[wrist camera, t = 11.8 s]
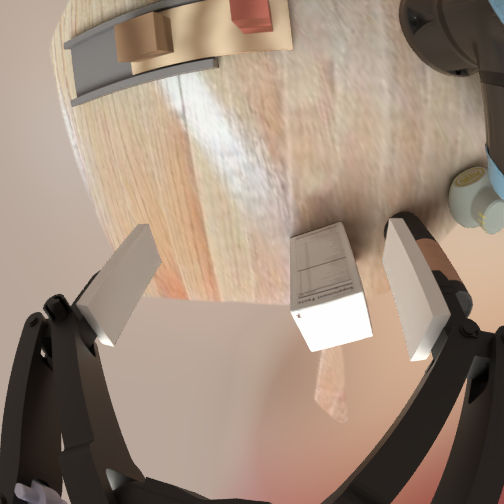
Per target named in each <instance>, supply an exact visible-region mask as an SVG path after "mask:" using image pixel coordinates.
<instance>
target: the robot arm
mask: <svg viewBox="0 0 504 504" xmlns="http://www.w3.org/2000/svg"><path fill="white" fill-rule="evenodd" d="M399 18H400V24H401V28H402V31H403V33H404V36H405V38H406V40H407V42H408V43H409V45H410V46H411V48H412V49H413V51H414V52H415V53H416V54H417V56H418V57H419V58H420V59H421V60H422V61H423V62H424V63H426V64H427V65H428V66H430V67H431V68H432V69H434V70H436V71H438V72H440V73H442V74H445V75H449V76H457V77H466V76H471V75H473V74H475V73H477V72H479V74H480V79H481V86H482V94H483V102H484V112H485V125H486V144H485V150H486V154H487V163H488V176H489V180H490V182H491V184H492V186H493V188H494V190H495V191H496V193H497V194H498V195H499V196H500V198H501V199H502V200H503V201H504V0H402V2H401V5H400V10H399ZM161 262H162V261H161V258H160V256H159V253H158V250H157V247H156V244H155V241H154V238H153V235H152V232H151V229H150V226H149V224H138V225H137V226H136V227H135V229H134V230H133V231H132V232H131V233H130V234H129V236H128V237H127V238H126V239H125V240H124V242H123V243H122V244H121V245H120V247H119V248H118V249H117V250H116V251H115V253H114V254H113V255H112V257H111V258H110V259H109V260H108V262H107V263H106V264H105V266H104V267H103V268H102V269H101V270H100V271H99V272H97V273H96V274H95V275H94V276H93V277H92V278H91V279H90V281H89V282H88V284H87V285H86V286H85V287H84V290H82V291H81V293H80V294H79V295H78V297H77V298H76V300H75V301H74V302H73V304H72V305H71V306H70V305H69V303H68V302H67V300H66V299H65V297H64V295H62V294H57V295H54V296H52V297H51V298H49V299H48V300H47V301H46V303H45V304H44V307H43V310H44V311H45V313H46V314H47V315H48V317H49V319H45V318H44V316H43V315H42V313H40V312H36V313H34V314H31V315H30V316H29V317H28V319H27V320H26V322H25V325H24V328H23V331H22V334H21V337H20V341H19V344H18V347H17V351H16V355H15V359H14V363H13V367H12V371H11V376H10V380H9V385H8V391H7V396H6V402H5V408H4V415H3V423H2V434H1V446H0V447H1V448H0V504H67V502H66V501H64V500H62V499H61V495H62V483H63V480H64V483H65V486H66V490H67V493H68V496H69V499H70V502H71V504H272V503H270V502H263V501H252V500H244V499H237V498H236V499H218V500H210V499H208V498H206V497H204V496H201V495H199V494H197V493H195V492H191V491H188V490H186V489H183V488H180V487H177V486H174V485H171V484H168V483H164V482H161V481H157V480H154V479H151V478H148V477H146V479H145V477H144V476H143V474H142V472H141V471H140V470H139V468H138V467H137V466H136V465H135V464H134V462H133V461H132V459H131V457H130V454H129V452H128V449H127V447H126V444H125V442H124V439H123V436H122V433H121V430H120V428H119V424H118V422H117V419H116V416H115V412H114V409H113V406H112V403H111V399H110V396H109V392H108V389H107V385H106V381H105V377H104V374H103V369H102V365H101V361H100V356H99V352H98V347H97V344H96V343H95V339H96V337H98V338H99V340H100V341H101V342H102V344H106V345H110V346H115V344H116V342H117V340H118V338H119V336H120V334H121V332H122V331H123V329H124V327H125V325H126V323H127V321H128V320H129V318H130V316H131V314H132V312H133V310H134V309H135V307H136V305H137V303H138V301H139V300H140V298H141V296H142V295H143V293H144V291H145V289H146V288H147V286H148V284H149V282H150V281H151V279H152V277H153V276H154V274H155V272H156V271H157V269H158V267H159V266H160V264H161ZM382 263H383V266H384V269H385V272H386V275H387V278H388V281H389V284H390V287H391V290H392V293H393V296H394V300H395V304H396V307H397V310H398V314H399V318H400V321H401V325H402V329H403V333H404V336H405V341H406V345H407V349H408V353H409V357H410V361H417V360H425V359H426V358H427V357H428V355H429V354H430V352H432V355H433V361H432V362H431V364H430V365H429V366H428V368H427V370H426V371H425V375H424V376H423V378H422V380H421V381H420V383H419V385H418V386H417V388H416V390H415V391H414V393H413V395H412V396H411V398H410V399H409V401H408V402H407V404H406V405H405V407H404V408H403V410H402V411H401V413H400V414H399V416H398V417H397V418H396V420H395V421H394V423H393V424H392V426H391V427H390V428H389V430H388V431H387V432H386V434H385V435H384V436H383V437H382V439H381V440H380V441H379V443H378V444H377V445H376V446H375V448H374V449H373V450H372V451H371V453H370V454H369V455H368V456H367V457H366V458H365V460H364V461H363V462H362V463H361V464H360V465H359V467H358V468H357V469H356V470H355V471H354V472H353V473H352V474H351V475H350V476H349V477H348V479H347V480H346V481H345V482H344V483H343V484H342V485H341V486H340V487H339V488H338V489H337V490H336V491H335V492H334V493H332V494H331V495H330V496H329V497H328V498H327V499H325V500H324V501H323V502H322V503H321V504H390V503H391V502H392V501H393V500H394V498H395V497H396V496H397V495H398V494H399V492H400V491H401V490H402V488H403V487H404V486H405V485H406V483H407V482H408V481H409V479H410V478H411V476H412V475H413V474H414V472H415V471H416V469H417V468H418V466H419V465H420V463H421V462H422V460H423V459H424V457H425V456H426V454H427V453H428V451H429V450H430V448H431V446H432V445H433V443H434V441H435V440H436V438H437V436H438V434H439V433H440V431H441V429H442V427H443V426H444V424H445V422H446V420H447V418H448V416H449V414H450V412H451V410H452V408H453V406H454V404H455V402H456V400H457V398H458V396H459V393H460V391H461V389H462V387H463V384H464V382H465V380H466V378H467V386H466V392H465V397H464V402H463V407H462V411H461V416H460V420H459V424H458V428H457V432H456V436H455V439H454V443H453V446H452V449H451V452H450V456H449V459H448V462H447V464H446V467H445V470H444V473H443V475H442V478H441V480H440V483H439V486H438V488H437V490H436V493H435V495H434V497H433V499H432V502H431V504H498V501H499V498H500V495H501V492H502V488H503V486H504V326H501V327H499V328H498V330H497V331H496V333H490V332H484V331H480V328H479V326H478V325H477V324H476V323H475V322H474V321H473V320H471V319H468V318H466V316H465V314H464V311H463V309H462V307H461V305H460V303H459V301H458V298H457V296H456V294H454V293H455V292H454V290H453V288H452V287H451V284H450V282H449V280H448V278H447V277H446V276H445V275H444V274H443V273H442V272H441V271H440V270H430V268H429V266H428V264H427V262H426V260H425V258H424V256H423V254H422V252H421V250H420V248H419V246H418V245H417V243H416V241H415V239H414V237H413V236H412V234H411V232H410V230H409V229H408V227H407V225H406V223H405V222H404V220H403V218H389V224H388V230H387V236H386V242H385V248H384V253H383V259H382ZM41 349H42V350H43V351H44V353H45V357H43V356H42V355H41ZM61 433H62V438H63V443H64V451H62V452H61ZM62 476H63V480H62Z"/></svg>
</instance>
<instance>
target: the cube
mask: <svg viewBox="0 0 504 504" xmlns="http://www.w3.org/2000/svg"><path fill="white" fill-rule="evenodd" d="M114 30H115V41H116V50H117V58H118V62H141V61H145V60H148V59H151V58H155V57H159V56H162V55H166V54H170V53H174V47H173V39H172V30H171V20H170V18H168V17H166V16H163V15H161V14H158V13H156V12H150V13H147V14H144V15H141V16H138V17H136V18H133V19H130V20H127V21H125V22H122V23H120V24H117V25H115V26H114Z"/></svg>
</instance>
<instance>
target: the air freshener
mask: <svg viewBox="0 0 504 504" xmlns="http://www.w3.org/2000/svg"><path fill="white" fill-rule="evenodd" d="M449 208H450V212H451V214H452V216H453V218H454V219H455V220H456V222H458V223H459V224H460V225H462V226H463V227H466V228H475V227H479V226H481V227H482V229H483V230H484V231H486V233H488V234H495V233H497V232H499V231H500V230H501V229H502V228H503V227H504V201H503V200H502V199H501V198H500V197H499V195H498V194H497V193H496V191H495V190H494V188H493V186H492V184H491V182H490V180H489V176H488V169H486V168H484V167H473V168H470V169H468V170H465V171H464V172H462V173H460V174H459V175H458V176H457V177H456V178H455V179H454V181H453V182H452V185H451V187H450V191H449Z"/></svg>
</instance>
